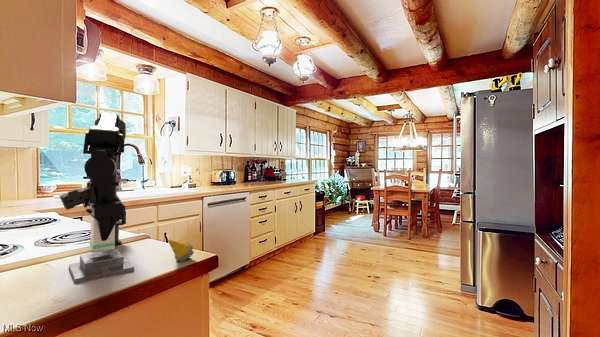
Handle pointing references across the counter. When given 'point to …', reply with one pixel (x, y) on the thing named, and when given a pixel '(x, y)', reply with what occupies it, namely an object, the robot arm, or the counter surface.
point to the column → (95, 238)
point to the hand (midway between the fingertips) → (102, 238)
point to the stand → (99, 266)
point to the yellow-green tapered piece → (181, 250)
